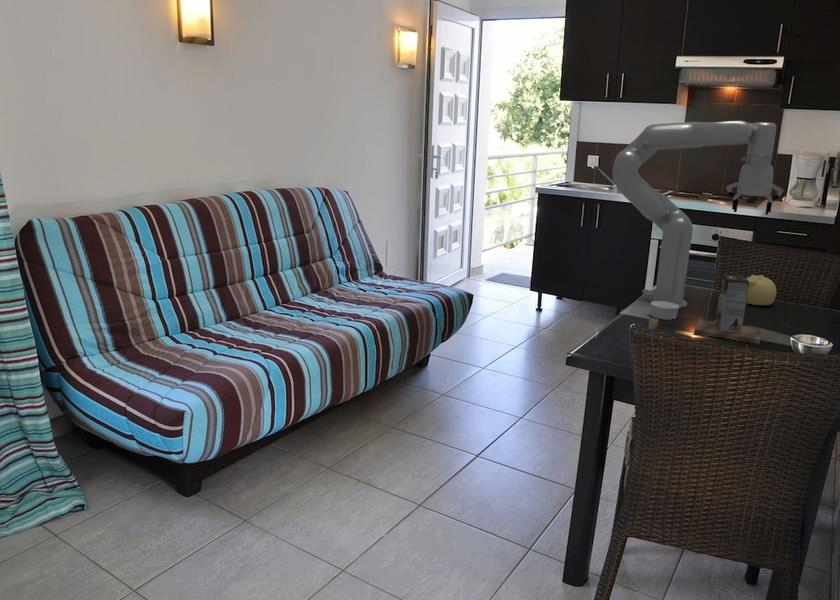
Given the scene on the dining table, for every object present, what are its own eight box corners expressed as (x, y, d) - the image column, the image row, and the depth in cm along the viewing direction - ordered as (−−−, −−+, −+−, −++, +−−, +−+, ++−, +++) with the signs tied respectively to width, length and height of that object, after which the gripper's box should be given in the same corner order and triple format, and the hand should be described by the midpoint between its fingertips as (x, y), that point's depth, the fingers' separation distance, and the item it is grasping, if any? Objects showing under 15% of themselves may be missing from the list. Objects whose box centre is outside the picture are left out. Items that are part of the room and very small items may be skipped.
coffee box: (713, 324, 216) (721, 273, 213) (735, 326, 215) (743, 275, 211) (719, 332, 208) (727, 279, 204) (742, 334, 206) (750, 281, 203)
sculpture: (741, 298, 259) (745, 270, 257) (776, 304, 253) (781, 275, 250) (734, 304, 250) (739, 275, 248) (770, 310, 244) (775, 280, 241)
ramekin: (678, 316, 231) (680, 303, 230) (676, 322, 223) (678, 309, 222) (651, 312, 235) (652, 299, 234) (647, 318, 227) (649, 305, 226)
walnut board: (693, 334, 209) (694, 329, 209) (698, 323, 222) (698, 319, 221) (759, 344, 202) (760, 339, 201) (760, 332, 214) (761, 328, 214)
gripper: (729, 159, 229) (721, 211, 233) (787, 162, 221) (779, 216, 225) (731, 159, 235) (724, 210, 239) (788, 162, 227) (780, 214, 231)
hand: (750, 213), depth 232 cm, fingers open, 9 cm apart
